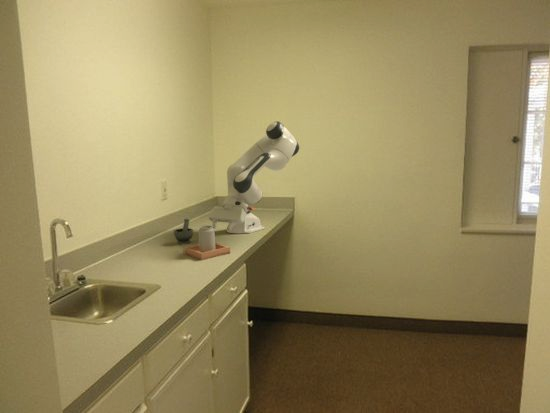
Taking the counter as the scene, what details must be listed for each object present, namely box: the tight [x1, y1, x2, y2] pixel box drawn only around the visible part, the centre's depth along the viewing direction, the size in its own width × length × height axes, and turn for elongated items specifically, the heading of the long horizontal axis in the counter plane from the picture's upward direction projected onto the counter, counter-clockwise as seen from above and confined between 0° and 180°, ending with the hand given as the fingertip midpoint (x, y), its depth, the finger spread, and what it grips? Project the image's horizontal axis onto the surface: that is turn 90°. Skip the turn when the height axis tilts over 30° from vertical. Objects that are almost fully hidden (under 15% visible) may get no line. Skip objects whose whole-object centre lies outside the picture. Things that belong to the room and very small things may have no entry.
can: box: [197, 225, 216, 253], centre depth 195 cm, size 8×8×12 cm
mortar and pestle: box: [173, 218, 194, 245], centre depth 219 cm, size 11×9×12 cm
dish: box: [183, 242, 231, 261], centre depth 196 cm, size 15×15×3 cm
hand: (220, 228), depth 205 cm, fingers open, 8 cm apart
